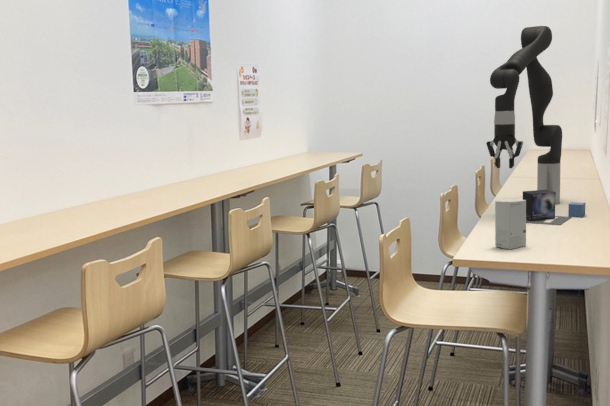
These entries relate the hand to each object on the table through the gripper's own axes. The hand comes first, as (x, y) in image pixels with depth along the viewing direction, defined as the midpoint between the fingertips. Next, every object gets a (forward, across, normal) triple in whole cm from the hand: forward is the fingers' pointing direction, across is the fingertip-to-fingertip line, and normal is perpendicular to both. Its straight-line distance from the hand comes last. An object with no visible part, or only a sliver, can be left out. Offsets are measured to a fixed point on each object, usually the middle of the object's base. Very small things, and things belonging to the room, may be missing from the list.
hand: (504, 167), depth 267 cm
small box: (+19, -13, 0) cm, 23 cm away
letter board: (+19, -13, 0) cm, 23 cm away
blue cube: (+19, -24, -12) cm, 33 cm away
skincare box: (+19, -18, +49) cm, 56 cm away
